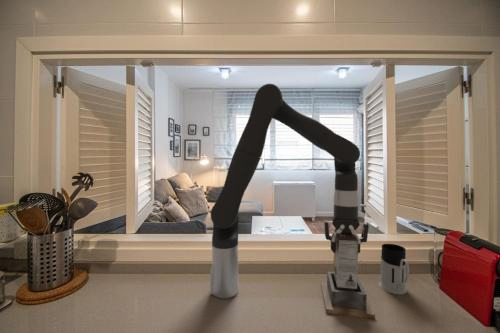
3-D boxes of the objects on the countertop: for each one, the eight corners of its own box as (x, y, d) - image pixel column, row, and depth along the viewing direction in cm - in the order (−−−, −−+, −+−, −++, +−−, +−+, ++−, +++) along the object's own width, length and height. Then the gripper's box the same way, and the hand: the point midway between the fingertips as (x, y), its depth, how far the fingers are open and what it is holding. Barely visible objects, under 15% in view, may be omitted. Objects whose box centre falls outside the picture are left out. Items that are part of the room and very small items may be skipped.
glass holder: (398, 281, 91) (399, 243, 91) (421, 304, 77) (422, 259, 77) (375, 280, 92) (375, 242, 92) (393, 303, 78) (394, 258, 78)
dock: (325, 312, 73) (326, 293, 73) (321, 285, 89) (321, 269, 89) (374, 318, 70) (375, 298, 70) (361, 289, 86) (361, 272, 86)
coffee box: (332, 273, 85) (333, 229, 84) (351, 275, 83) (352, 230, 83) (336, 287, 76) (337, 238, 75) (358, 289, 74) (359, 239, 74)
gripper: (324, 204, 76) (323, 255, 77) (372, 206, 73) (371, 259, 74) (322, 200, 84) (321, 247, 84) (366, 202, 81) (365, 250, 81)
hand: (345, 252), depth 79 cm, fingers closed on coffee box, 6 cm apart
